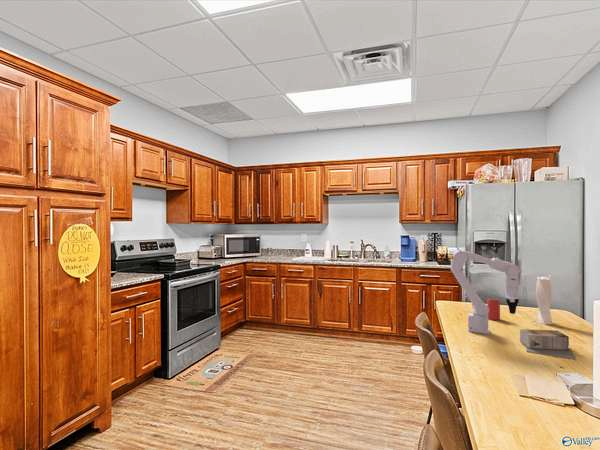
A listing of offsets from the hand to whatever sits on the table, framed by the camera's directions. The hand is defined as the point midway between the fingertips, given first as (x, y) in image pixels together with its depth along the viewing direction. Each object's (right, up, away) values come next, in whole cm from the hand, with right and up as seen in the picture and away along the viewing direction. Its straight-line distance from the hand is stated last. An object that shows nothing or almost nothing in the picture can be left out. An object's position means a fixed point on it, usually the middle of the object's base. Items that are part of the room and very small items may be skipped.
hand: (512, 313), depth 176 cm
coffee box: (-6, -7, -17) cm, 19 cm away
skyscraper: (+30, -11, +19) cm, 37 cm away
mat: (+2, -11, -23) cm, 26 cm away
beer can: (+6, -11, +27) cm, 30 cm away
